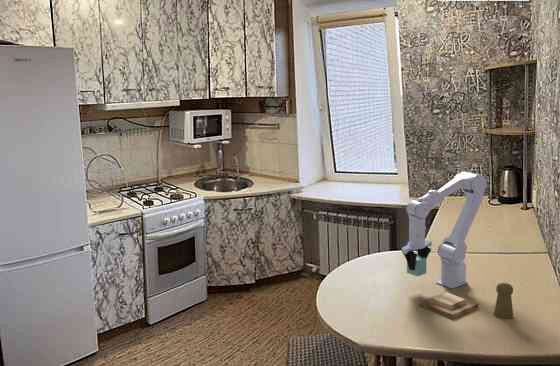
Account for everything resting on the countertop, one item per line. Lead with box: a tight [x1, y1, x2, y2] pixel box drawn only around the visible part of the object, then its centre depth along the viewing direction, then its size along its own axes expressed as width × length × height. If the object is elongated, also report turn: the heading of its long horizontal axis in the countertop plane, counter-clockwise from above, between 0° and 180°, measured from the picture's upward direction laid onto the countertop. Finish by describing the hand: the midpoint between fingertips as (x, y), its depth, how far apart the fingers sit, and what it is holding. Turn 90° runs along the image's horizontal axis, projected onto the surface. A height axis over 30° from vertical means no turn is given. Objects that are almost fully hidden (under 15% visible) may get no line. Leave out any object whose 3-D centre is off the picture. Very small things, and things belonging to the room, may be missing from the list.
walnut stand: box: [419, 291, 479, 320], centre depth 189 cm, size 14×14×3 cm
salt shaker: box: [493, 282, 514, 320], centre depth 180 cm, size 6×6×11 cm
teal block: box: [406, 255, 428, 277], centre depth 203 cm, size 5×5×6 cm
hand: (416, 267), depth 203 cm, fingers closed on teal block, 5 cm apart
